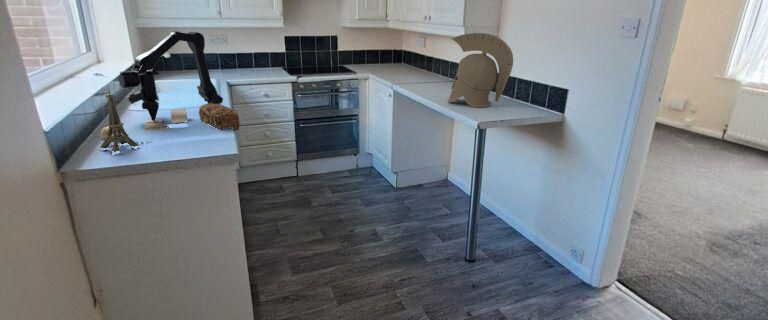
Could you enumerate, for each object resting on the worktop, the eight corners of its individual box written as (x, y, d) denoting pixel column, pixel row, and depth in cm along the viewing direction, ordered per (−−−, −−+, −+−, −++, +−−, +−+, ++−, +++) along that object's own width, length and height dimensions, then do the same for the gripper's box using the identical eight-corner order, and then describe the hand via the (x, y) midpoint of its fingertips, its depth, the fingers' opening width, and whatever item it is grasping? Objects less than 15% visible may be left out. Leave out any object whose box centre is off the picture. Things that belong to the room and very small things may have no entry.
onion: (125, 136, 178) (122, 120, 175) (125, 142, 171) (122, 124, 169) (102, 139, 174) (99, 122, 172) (101, 144, 168) (98, 127, 165)
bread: (199, 125, 197) (197, 103, 194) (222, 121, 204) (220, 100, 201) (217, 134, 184) (215, 111, 181) (241, 130, 192) (239, 107, 188)
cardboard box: (146, 129, 188) (145, 125, 188) (188, 125, 195) (188, 122, 195) (145, 134, 181) (144, 131, 180) (189, 130, 188) (189, 127, 187)
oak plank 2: (170, 112, 198) (170, 109, 197) (186, 111, 200) (185, 108, 199) (172, 125, 194) (172, 123, 193) (188, 124, 196) (188, 121, 195)
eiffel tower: (114, 155, 156) (100, 86, 148) (97, 150, 161) (83, 83, 152) (142, 148, 165) (130, 82, 156) (125, 143, 170) (113, 79, 161)
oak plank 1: (146, 123, 195) (145, 120, 195) (162, 122, 198) (161, 119, 198) (146, 128, 189) (145, 125, 188) (162, 127, 192) (162, 124, 191)
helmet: (452, 98, 269) (457, 30, 255) (510, 104, 254) (519, 34, 241) (441, 104, 252) (446, 32, 238) (503, 111, 237) (512, 35, 224)
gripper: (128, 82, 194) (134, 116, 199) (125, 90, 178) (132, 127, 183) (156, 81, 198) (161, 114, 203) (155, 88, 182) (161, 124, 188)
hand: (153, 120), depth 194 cm, fingers closed
